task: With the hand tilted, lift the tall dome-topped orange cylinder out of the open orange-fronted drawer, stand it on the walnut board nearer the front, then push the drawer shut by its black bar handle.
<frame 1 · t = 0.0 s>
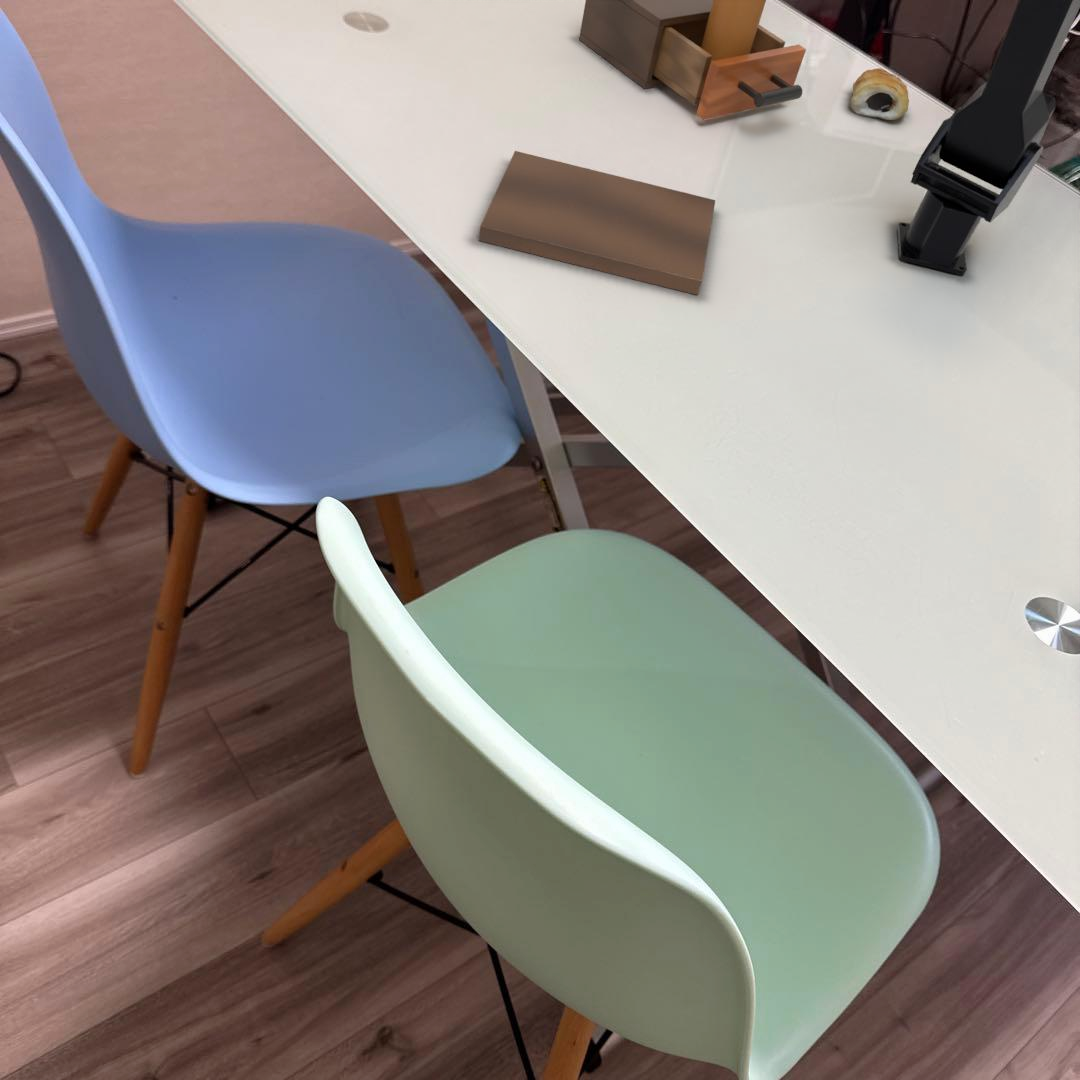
cabinet: (658, 55, 117), on the table
dome-topped orange cylinder: (717, 77, 111), point 2 cm above the table, touching drawer
board: (600, 226, 91), on the table
drawer: (733, 69, 109), point 4 cm above the table, slide at 8.0 cm, touching dome-topped orange cylinder
pastry: (873, 107, 117), on the table
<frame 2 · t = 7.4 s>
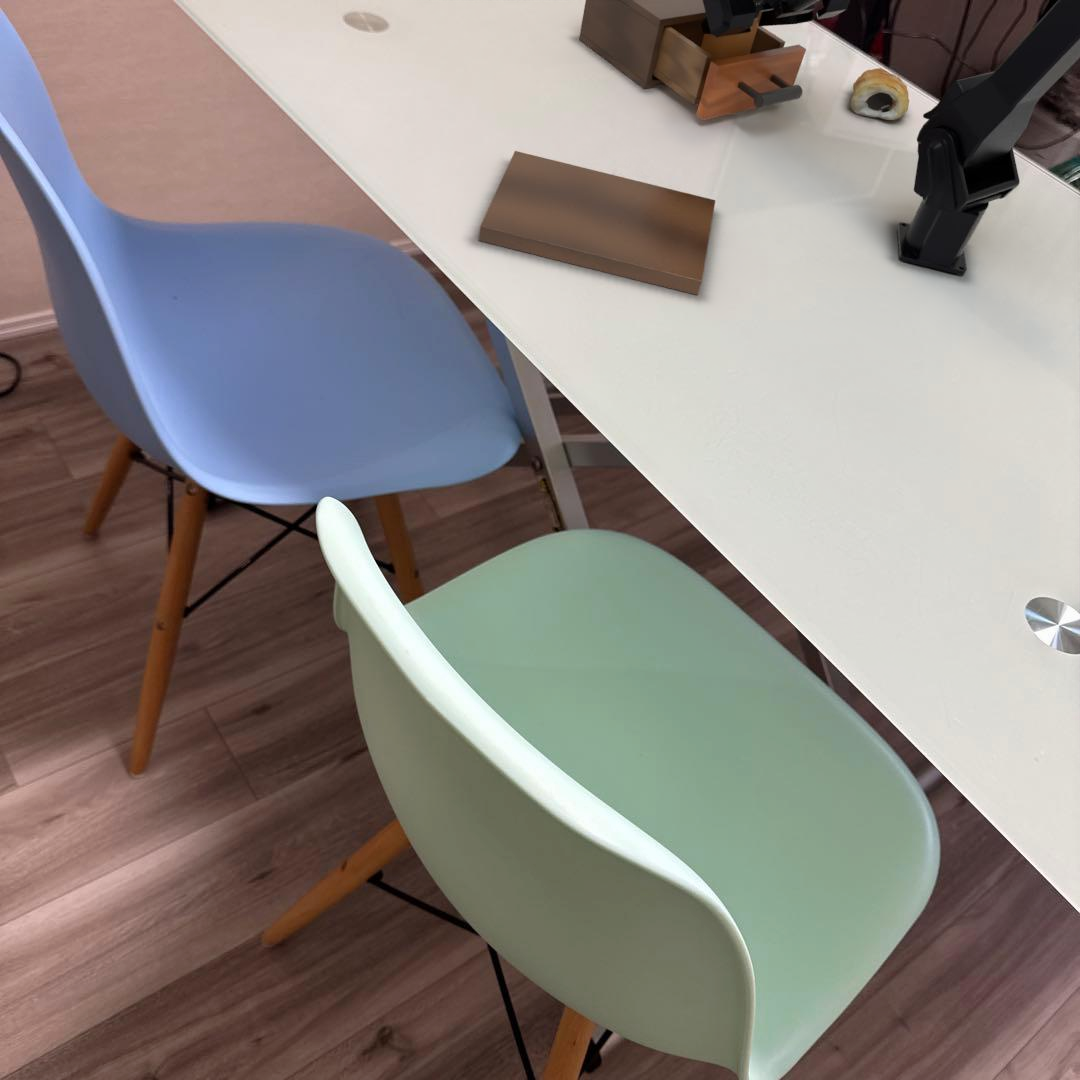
hand: (722, 25, 108), 7 cm above the table, tool tilted 45°, fingers closed on dome-topped orange cylinder, 5 cm apart
dome-topped orange cylinder: (717, 77, 111), point 2 cm above the table, touching drawer, gripper
everything else where it was.
when the fingers open (7 cm above the table, at t = 16.1 s): dome-topped orange cylinder stays where it is, resting on board.
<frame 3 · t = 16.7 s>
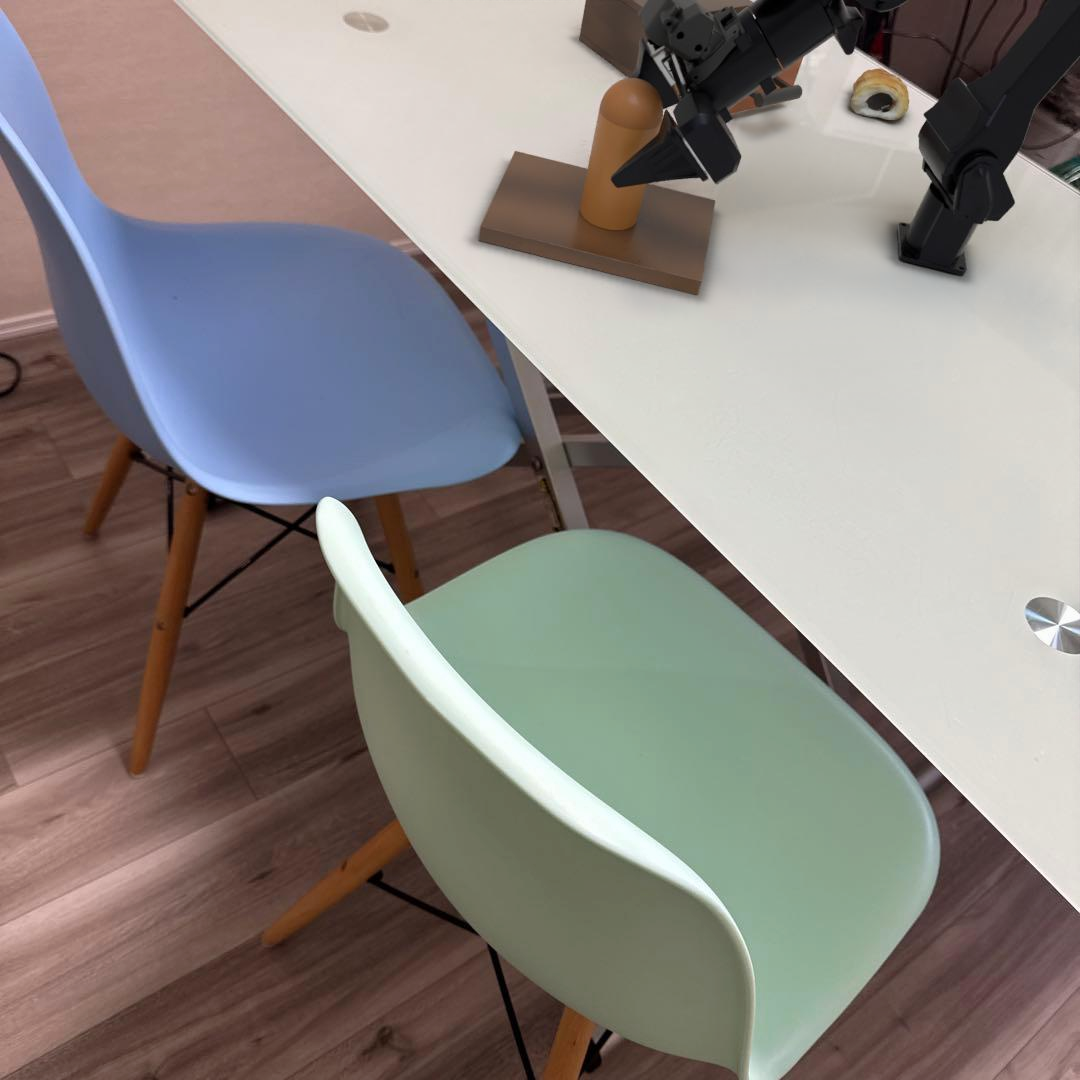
hand: (605, 154, 86), 7 cm above the table, tool tilted 45°, fingers open, 9 cm apart
dome-topped orange cylinder: (608, 213, 90), point 1 cm above the table, touching board
drawer: (733, 69, 109), point 4 cm above the table, slide at 8.0 cm
everything else where it was.
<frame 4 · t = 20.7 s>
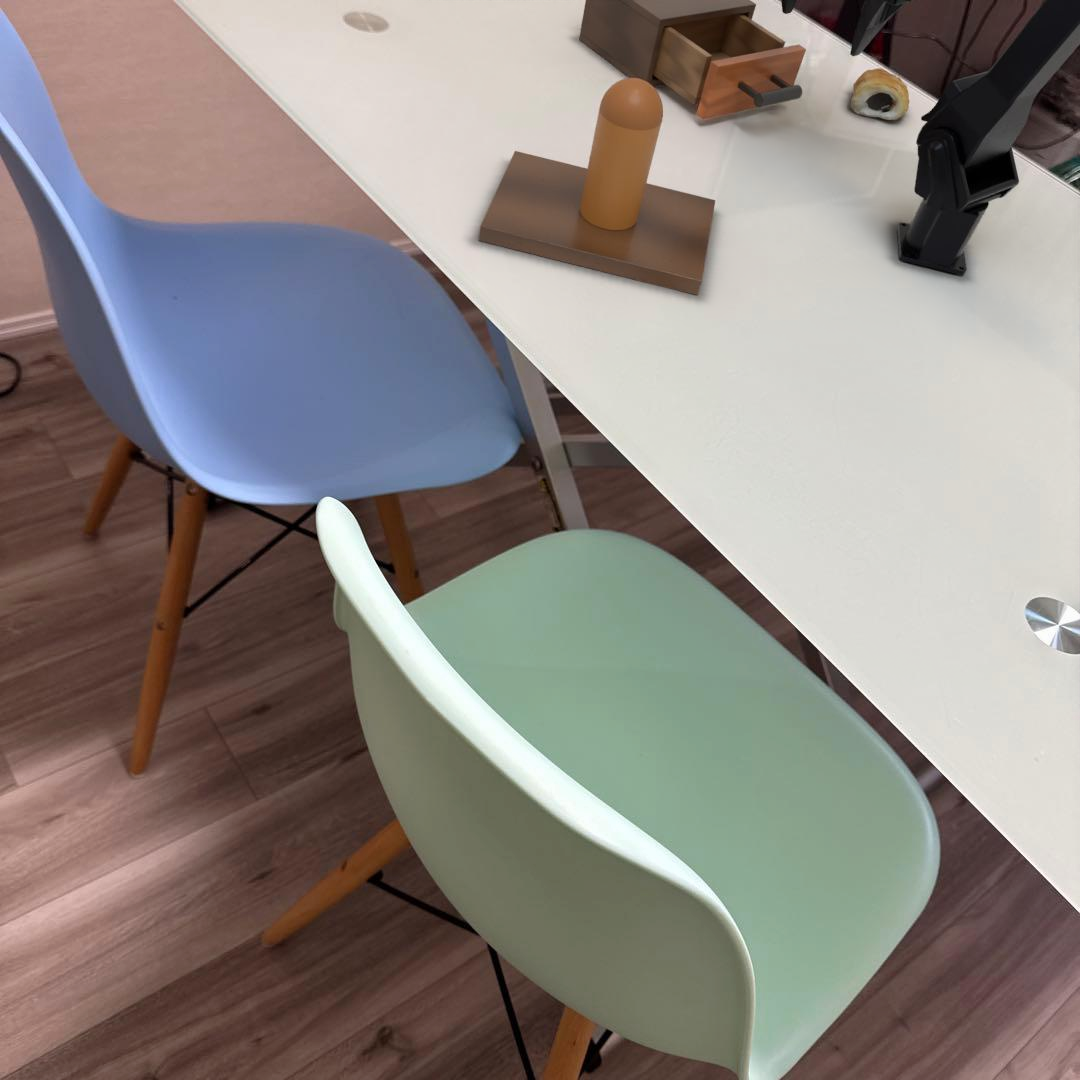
hand: (820, 33, 97), 12 cm above the table, tool pointing down, fingers open, 9 cm apart
nothing on the table moved.
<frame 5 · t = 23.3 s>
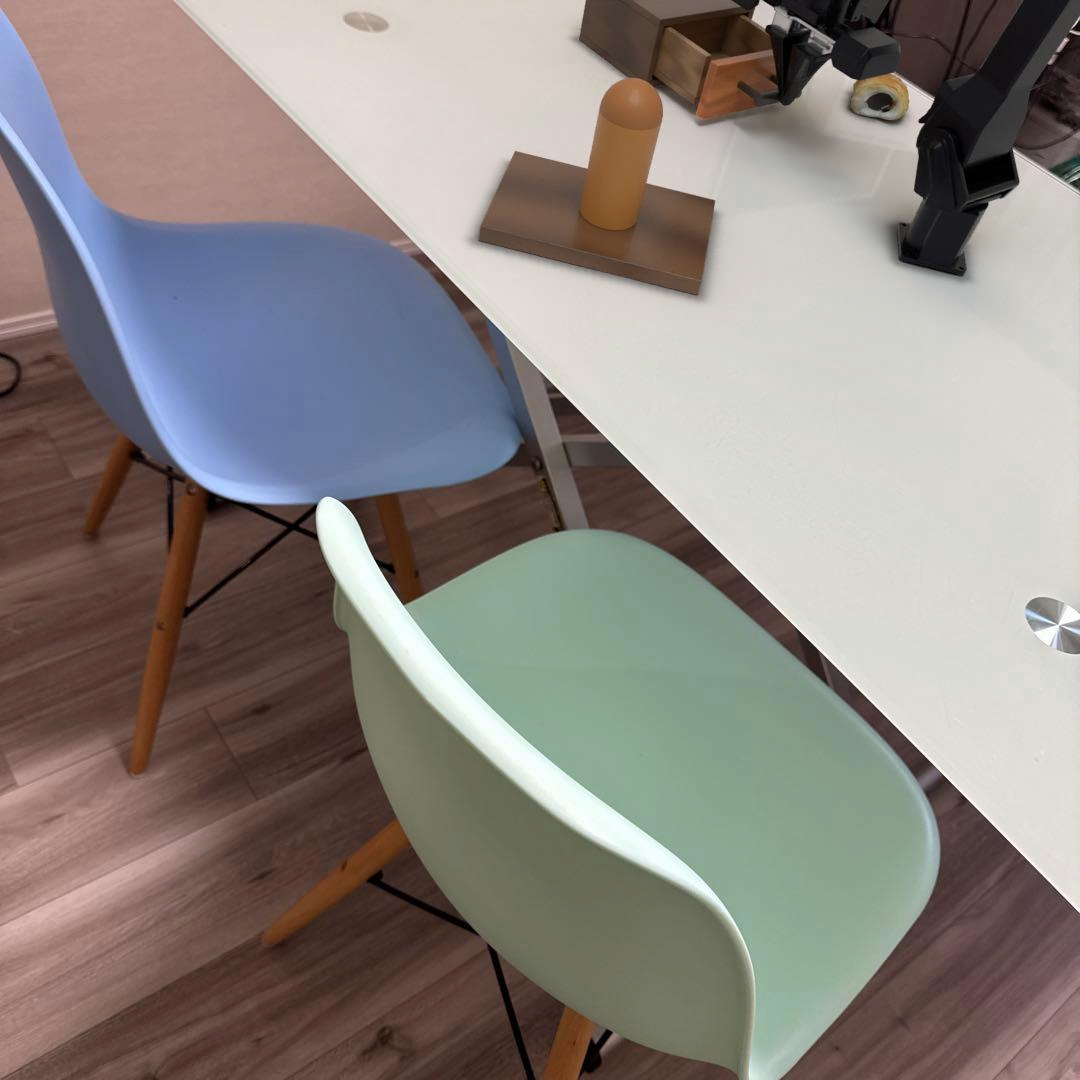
hand: (785, 104, 105), 4 cm above the table, tool pointing down, fingers closed
drawer: (732, 68, 109), point 4 cm above the table, slide at 7.9 cm, touching gripper
everything else where it was.
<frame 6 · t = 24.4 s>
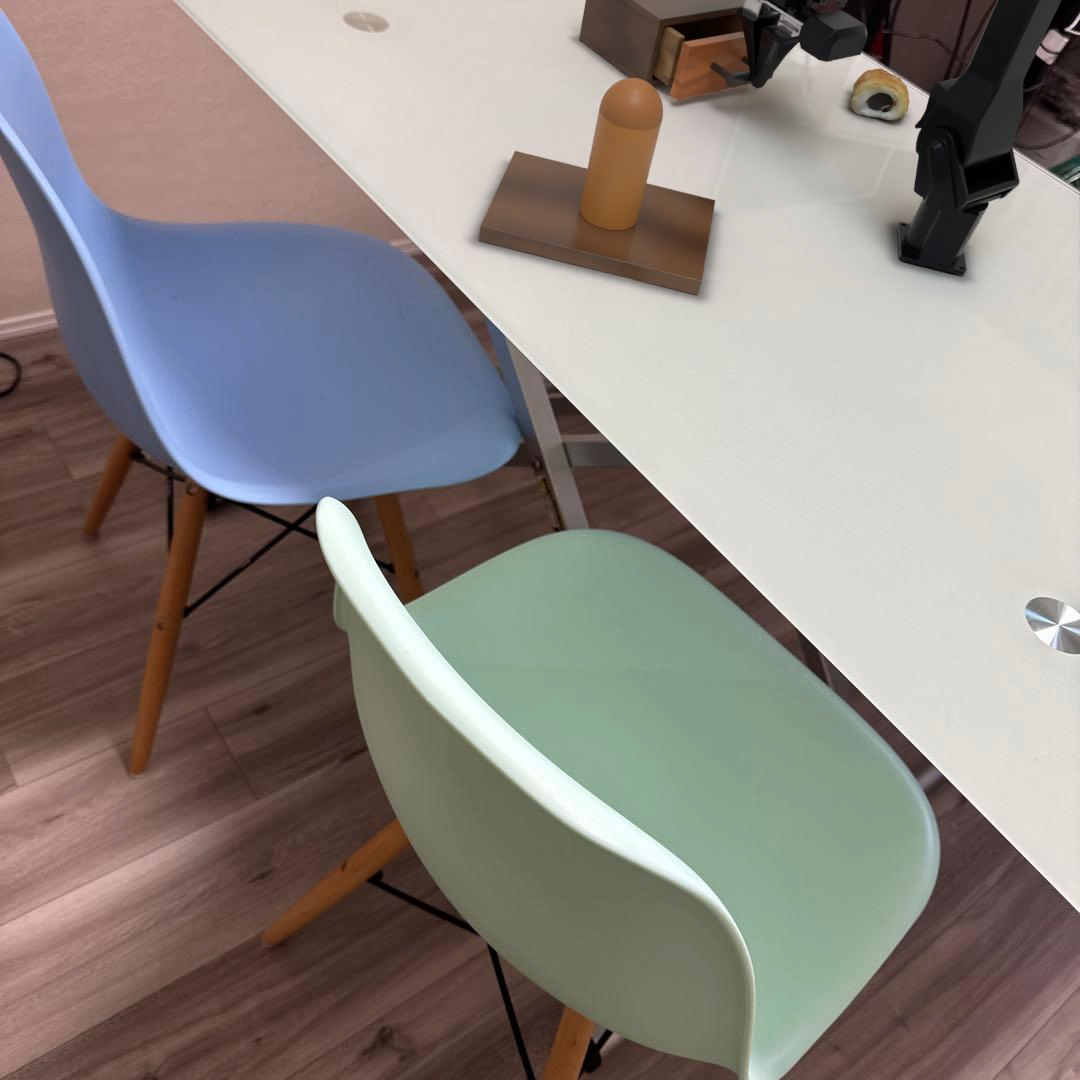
hand: (756, 86, 107), 4 cm above the table, tool pointing down, fingers closed
drawer: (706, 50, 111), point 4 cm above the table, slide at 3.4 cm, touching gripper
everything else where it was.
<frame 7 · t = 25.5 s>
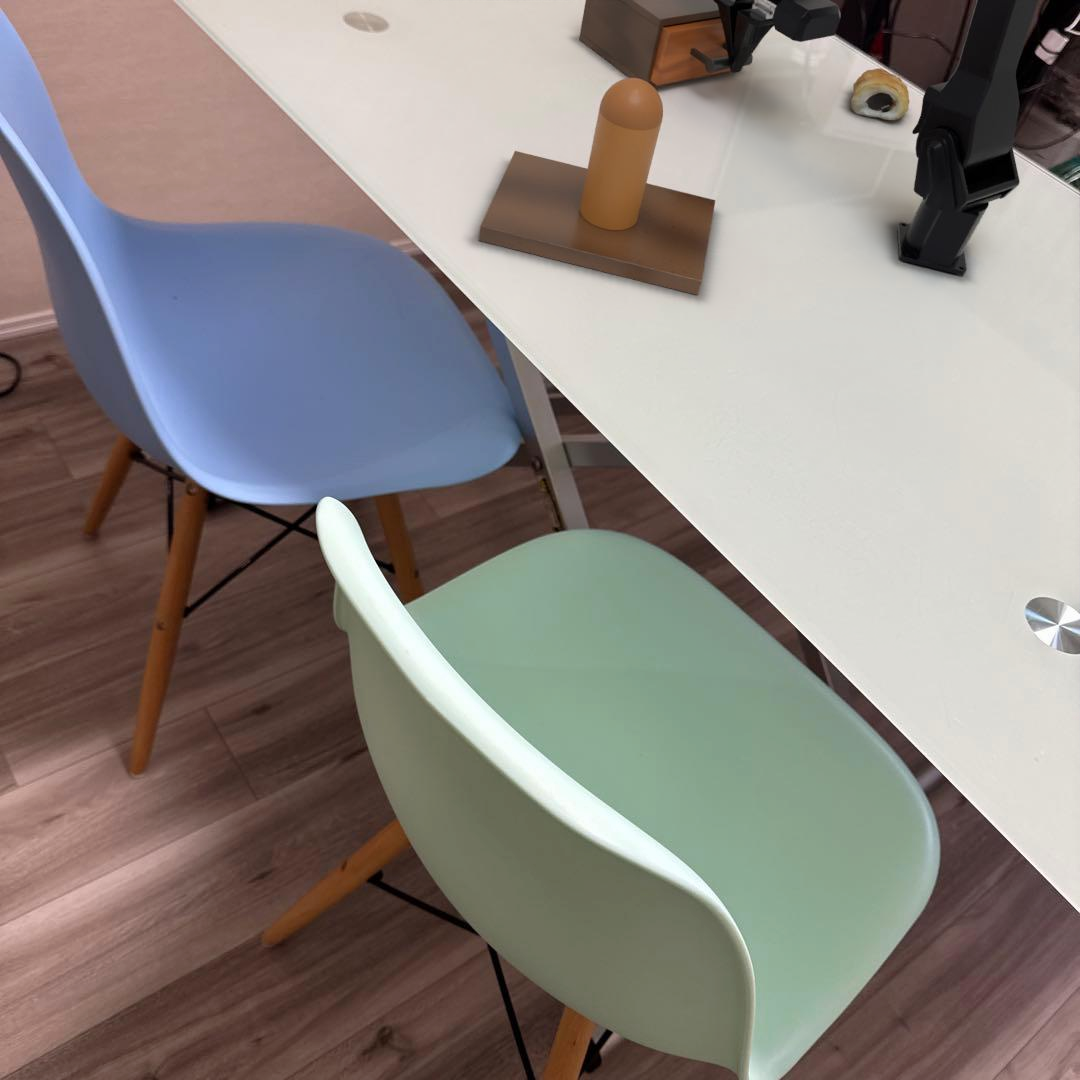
hand: (735, 71, 108), 4 cm above the table, tool pointing down, fingers closed
drawer: (686, 36, 112), point 4 cm above the table, slide at 0.0 cm, touching gripper
everything else where it was.
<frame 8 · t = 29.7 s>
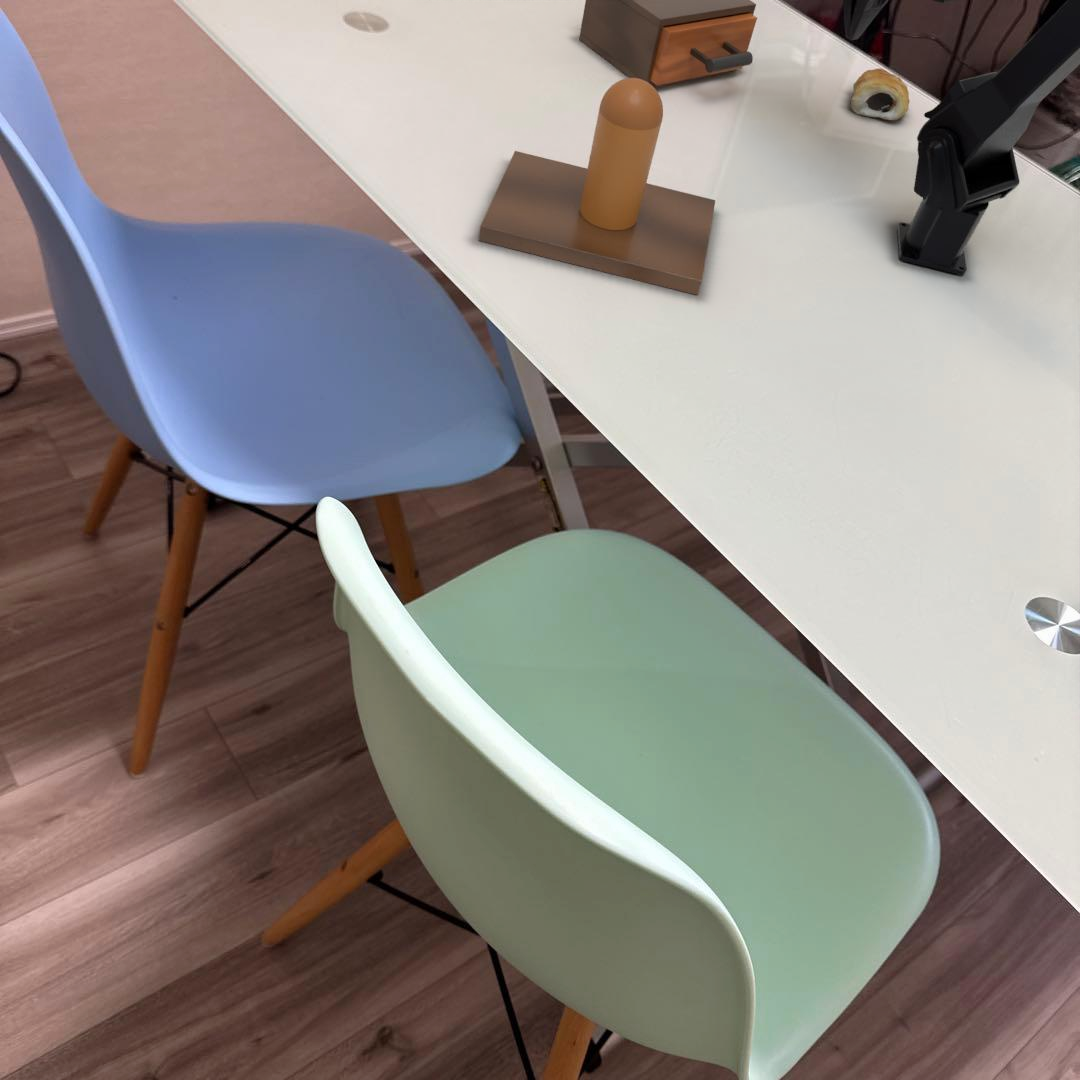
hand: (851, 38, 95), 13 cm above the table, tool pointing down, fingers closed
drawer: (686, 36, 112), point 4 cm above the table, slide at 0.0 cm
everything else where it was.
at the end: dome-topped orange cylinder inside the target area on the board (0.5 cm from its centre), point 1.5 cm above the board's base; dome-topped orange cylinder tilted 0°; drawer slide at 0.0 cm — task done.
